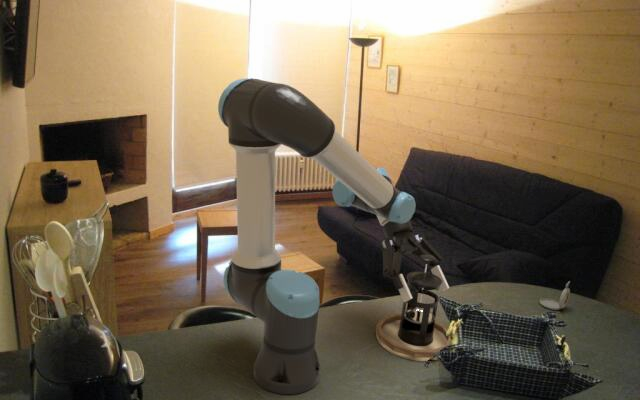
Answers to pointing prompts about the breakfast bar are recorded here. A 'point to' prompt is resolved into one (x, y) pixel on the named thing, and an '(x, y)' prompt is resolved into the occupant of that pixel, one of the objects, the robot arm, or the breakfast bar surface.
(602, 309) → the breakfast bar surface
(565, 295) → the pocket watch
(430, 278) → the french press
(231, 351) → the breakfast bar surface
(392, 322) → the ring trivet
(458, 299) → the breakfast bar surface
